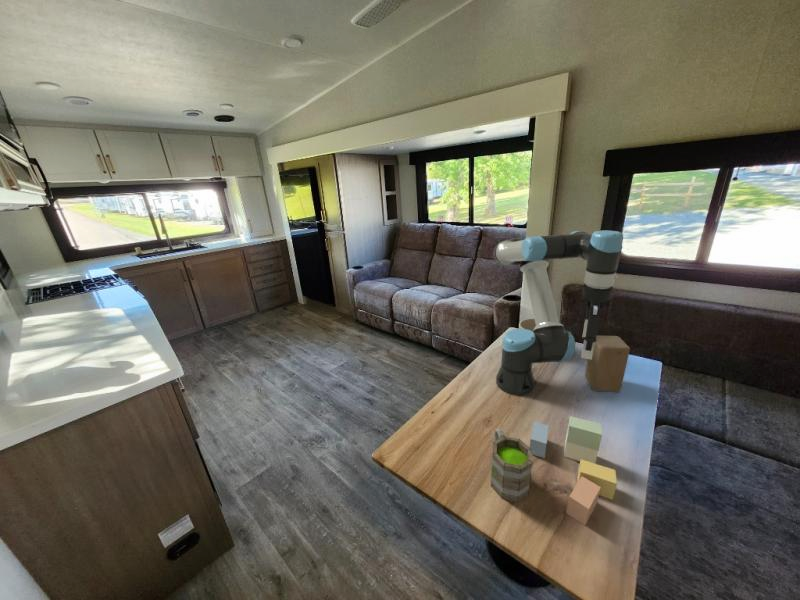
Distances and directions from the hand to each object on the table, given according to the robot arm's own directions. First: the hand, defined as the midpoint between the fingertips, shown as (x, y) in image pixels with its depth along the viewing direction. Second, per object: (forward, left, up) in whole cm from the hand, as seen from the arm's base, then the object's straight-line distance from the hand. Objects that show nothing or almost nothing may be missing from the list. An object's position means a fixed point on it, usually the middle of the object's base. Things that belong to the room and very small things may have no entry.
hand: (586, 347), depth 97 cm
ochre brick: (+5, -27, -28) cm, 39 cm away
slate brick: (-10, -19, -28) cm, 35 cm away
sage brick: (+2, -17, -22) cm, 28 cm away
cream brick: (+2, -17, -28) cm, 33 cm away
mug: (-17, -34, -28) cm, 47 cm away
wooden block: (+9, +24, -28) cm, 38 cm away
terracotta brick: (+2, -35, -28) cm, 45 cm away
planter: (-18, +44, -28) cm, 55 cm away
